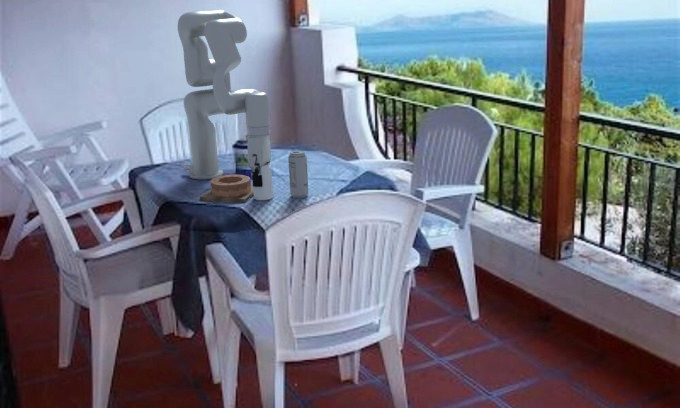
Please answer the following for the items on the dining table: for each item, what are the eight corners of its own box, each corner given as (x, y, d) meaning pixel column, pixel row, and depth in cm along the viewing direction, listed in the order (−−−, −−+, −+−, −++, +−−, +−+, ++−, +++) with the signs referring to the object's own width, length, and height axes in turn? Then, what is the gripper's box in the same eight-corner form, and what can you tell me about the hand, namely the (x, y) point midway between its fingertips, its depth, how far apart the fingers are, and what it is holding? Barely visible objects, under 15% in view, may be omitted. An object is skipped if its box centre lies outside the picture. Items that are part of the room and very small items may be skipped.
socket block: (199, 200, 243) (198, 185, 241) (219, 187, 258) (217, 172, 256) (245, 202, 239) (244, 187, 237) (261, 188, 254) (261, 174, 252)
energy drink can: (309, 197, 242) (307, 153, 237) (291, 199, 241) (289, 154, 236) (306, 192, 247) (304, 149, 243) (289, 194, 246) (286, 150, 242)
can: (253, 195, 246) (251, 161, 242) (273, 194, 246) (271, 160, 243) (253, 201, 240) (251, 166, 236) (273, 200, 240) (271, 165, 237)
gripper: (257, 125, 246) (260, 175, 251) (237, 136, 230) (241, 190, 235) (278, 125, 244) (281, 176, 249) (260, 136, 228) (263, 191, 233)
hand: (262, 182), depth 242 cm, fingers open, 7 cm apart
